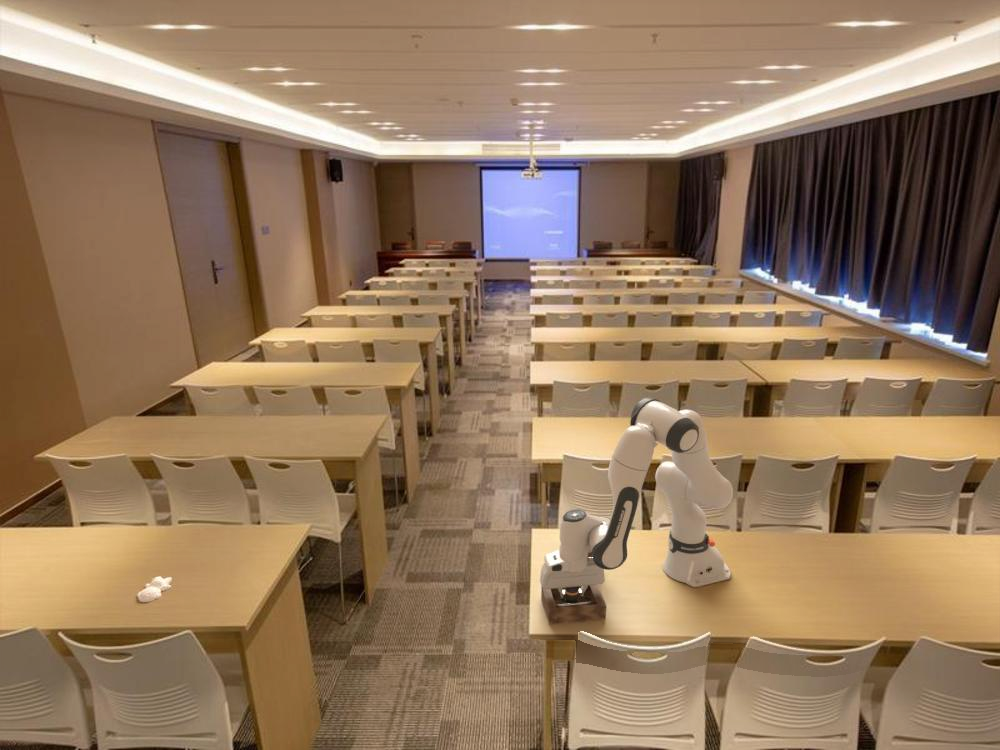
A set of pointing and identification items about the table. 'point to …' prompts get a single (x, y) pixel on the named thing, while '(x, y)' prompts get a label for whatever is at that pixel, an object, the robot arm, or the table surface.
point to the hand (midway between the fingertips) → (571, 596)
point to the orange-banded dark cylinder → (572, 594)
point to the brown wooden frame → (573, 612)
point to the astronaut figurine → (154, 589)
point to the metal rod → (575, 604)
